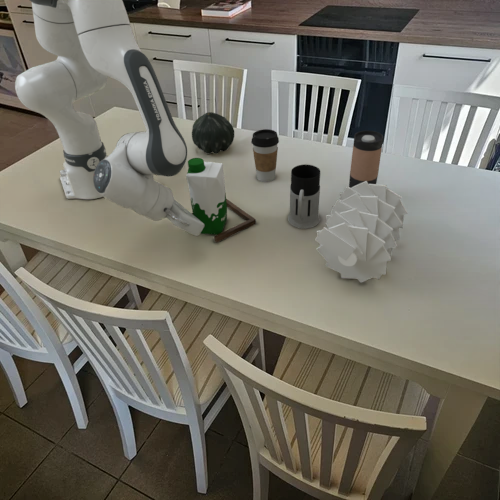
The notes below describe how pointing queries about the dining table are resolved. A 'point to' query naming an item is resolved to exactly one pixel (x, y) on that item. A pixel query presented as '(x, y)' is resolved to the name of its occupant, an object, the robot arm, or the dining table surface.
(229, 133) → the squash
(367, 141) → the travel mug
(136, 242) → the dining table surface
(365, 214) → the spiral staircase
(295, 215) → the glass holder
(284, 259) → the dining table surface
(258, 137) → the coffee cup
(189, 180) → the soya milk
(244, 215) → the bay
